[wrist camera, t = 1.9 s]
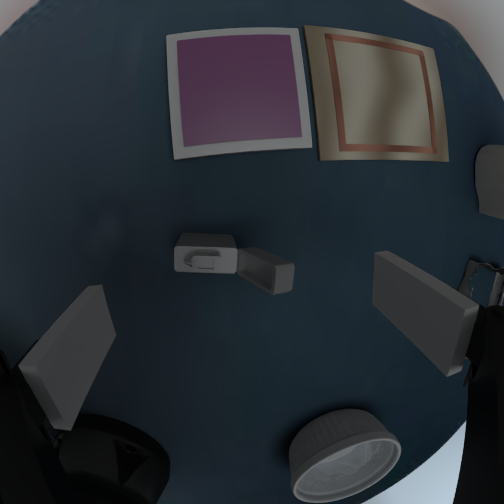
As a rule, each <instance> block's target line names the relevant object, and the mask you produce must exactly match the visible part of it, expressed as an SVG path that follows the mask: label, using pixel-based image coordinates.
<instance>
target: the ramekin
mask: <svg viewBox="0 0 504 504" xmlns="http://www.w3.org/2000/svg"><path fill="white" fill-rule="evenodd" d="M400 454H401V446H400V443H399V442H398V440H397V438H396V437H395V436H394V435H393V434H391V433H389V432H388V430H387V429H386V428H385V427H384V426H383V425H382V424H381V423H380V422H379V421H378V419H376V418H375V417H374V416H373V415H372V414H370V413H369V412H367V411H364V410H359V409H341V410H336V411H333V412H329V413H327V414H324V415H322V416H320V417H318V418H316V419H314V420H313V421H311V422H310V423H308V424H307V425H306V426H304V427H303V428H302V429H301V430H300V431H299V432H298V434H297V435H296V436H295V438H294V439H293V441H292V443H291V445H290V449H289V462H290V471H291V477H292V478H291V488H292V491H293V493H294V495H295V496H296V497H297V498H298V499H300V500H302V501H305V502H312V503H322V502H330V501H335V500H339V499H343V498H346V497H349V496H351V495H354V494H356V493H359V492H361V491H363V490H365V489H366V488H368V487H370V486H372V485H373V484H375V483H376V482H377V481H379V480H380V479H381V478H383V477H384V476H385V475H386V474H387V473H388V472H389V471H390V470H391V469H392V468H393V467H394V465H395V464H396V463H397V461H398V459H399V457H400Z"/></svg>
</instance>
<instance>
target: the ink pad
mask: <svg viewBox="0 0 504 504" xmlns="http://www.w3.org/2000/svg"><path fill="white" fill-rule="evenodd" d="M166 38H167V68H168V88H169V104H170V118H171V131H172V142H173V153H174V160H183V159H191V158H198V157H207V156H216V155H225V154H236V153H247V152H259V151H274V150H292V149H308V148H312V138H311V128H310V118H309V108H308V99H307V90H306V82H305V74H304V67H303V59H302V52H301V45H300V39H299V32H298V29H297V28H231V29H216V30H204V31H195V32H186V33H179V34H172V35H166Z"/></svg>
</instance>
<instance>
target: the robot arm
mask: <svg viewBox="0 0 504 504" xmlns="http://www.w3.org/2000/svg"><path fill="white" fill-rule="evenodd" d="M372 304H373V305H374V306H375V307H376V308H377V309H379V310H380V311H381V312H382V313H383V314H384V315H385V316H386V317H387V318H388V319H389V320H390V321H391V322H392V323H393V324H394V325H395V326H396V327H397V328H398V329H399V330H400V331H401V332H402V333H403V334H404V335H406V336H407V337H408V338H409V339H410V340H411V341H412V342H413V343H414V344H415V345H416V346H417V347H418V348H419V349H420V350H421V351H422V352H423V353H424V354H425V355H426V356H427V357H428V358H429V359H430V360H431V361H432V362H433V363H434V364H435V365H436V366H437V367H438V368H439V369H440V370H441V371H442V373H443V374H444V375H445V376H446V377H448V376H450V375H453V374H455V373H457V372H459V371H461V370H462V367H463V364H464V361H465V358H466V357H467V358H468V359H469V360H470V361H471V364H470V367H469V370H468V373H467V376H466V378H465V381H464V384H463V386H466V383H467V382H468V406H467V420H466V432H465V440H464V448H463V455H462V461H461V467H460V473H459V479H458V483H457V488H456V493H455V497H454V501H453V504H504V306H500V305H492V306H489V307H488V308H485V307H483V306H482V305H480V304H479V303H477V302H476V301H474V300H472V299H471V298H469V297H467V296H466V295H464V294H463V293H462V294H461V292H459V291H458V290H456V289H454V288H453V287H450V286H448V285H446V284H445V283H443V282H441V281H440V280H438V279H436V278H435V277H433V276H431V275H430V274H428V273H426V272H424V271H423V270H421V269H419V268H418V267H416V266H414V265H412V264H411V263H409V262H407V261H405V260H403V259H402V258H400V257H398V256H396V255H395V254H393V253H391V252H389V251H383V252H375V263H374V283H373V298H372ZM115 337H116V333H115V330H114V326H113V323H112V320H111V316H110V313H109V309H108V306H107V302H106V299H105V295H104V291H103V287H102V285H95V286H88V287H87V288H86V289H85V290H84V291H83V292H82V293H81V294H80V295H79V296H78V297H77V298H76V300H75V301H74V302H73V303H72V304H71V305H70V306H69V307H68V308H67V309H66V310H65V311H64V313H63V314H62V315H61V316H60V317H59V318H58V319H57V320H56V321H55V322H54V324H53V325H52V326H51V327H50V328H49V329H48V330H47V332H46V333H45V334H44V335H43V336H42V337H41V338H39V339H38V340H37V341H35V343H34V344H33V345H32V346H31V347H30V349H29V350H28V351H27V352H26V353H25V355H24V356H23V357H22V358H21V359H20V360H19V362H18V363H17V364H16V365H15V367H14V368H13V369H11V367H10V365H9V363H8V361H7V359H6V357H5V355H4V353H3V351H2V350H0V504H157V502H158V500H159V498H160V496H161V494H162V492H163V491H164V489H165V487H166V485H167V483H168V480H169V475H170V460H169V457H168V455H167V453H166V452H165V450H164V449H163V448H162V447H161V446H160V445H159V444H158V443H157V442H156V441H155V440H153V439H152V438H151V437H149V436H148V435H146V434H144V433H143V432H141V431H139V430H137V429H135V428H133V427H131V426H129V425H127V424H124V423H122V422H119V421H116V420H113V419H109V418H105V417H100V416H93V415H78V413H79V411H80V409H81V407H82V404H83V402H84V400H85V398H86V396H87V394H88V391H89V389H90V387H91V385H92V383H93V381H94V379H95V377H96V375H97V373H98V371H99V369H100V366H101V364H102V362H103V360H104V358H105V356H106V355H107V353H108V351H109V349H110V347H111V345H112V343H113V341H114V339H115ZM77 415H78V416H77ZM46 417H47V418H48V420H49V421H50V423H51V425H52V426H53V428H56V429H59V430H58V432H57V434H56V437H55V448H54V446H53V444H52V441H51V439H50V436H49V434H48V431H47V430H46V428H45V427H44V425H43V422H44V420H45V418H46Z"/></svg>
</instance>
